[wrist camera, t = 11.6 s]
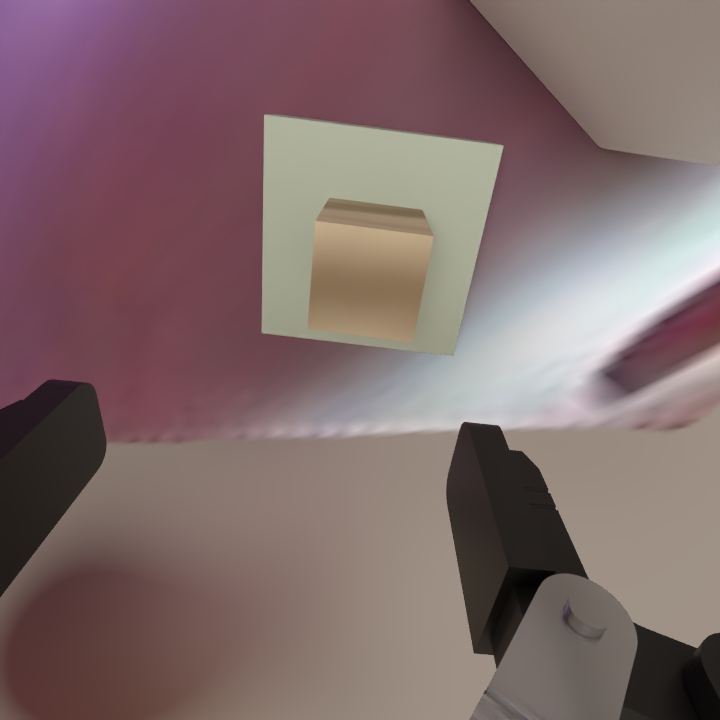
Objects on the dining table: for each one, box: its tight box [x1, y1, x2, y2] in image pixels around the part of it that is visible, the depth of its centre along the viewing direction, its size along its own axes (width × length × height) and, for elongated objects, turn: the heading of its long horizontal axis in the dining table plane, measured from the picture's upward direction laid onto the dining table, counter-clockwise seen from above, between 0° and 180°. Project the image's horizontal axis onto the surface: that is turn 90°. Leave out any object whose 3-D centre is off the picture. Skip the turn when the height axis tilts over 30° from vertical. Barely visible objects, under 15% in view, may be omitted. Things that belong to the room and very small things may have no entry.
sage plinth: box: [262, 114, 504, 356], centre depth 27 cm, size 12×12×4 cm
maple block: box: [307, 198, 434, 342], centre depth 23 cm, size 5×5×6 cm
